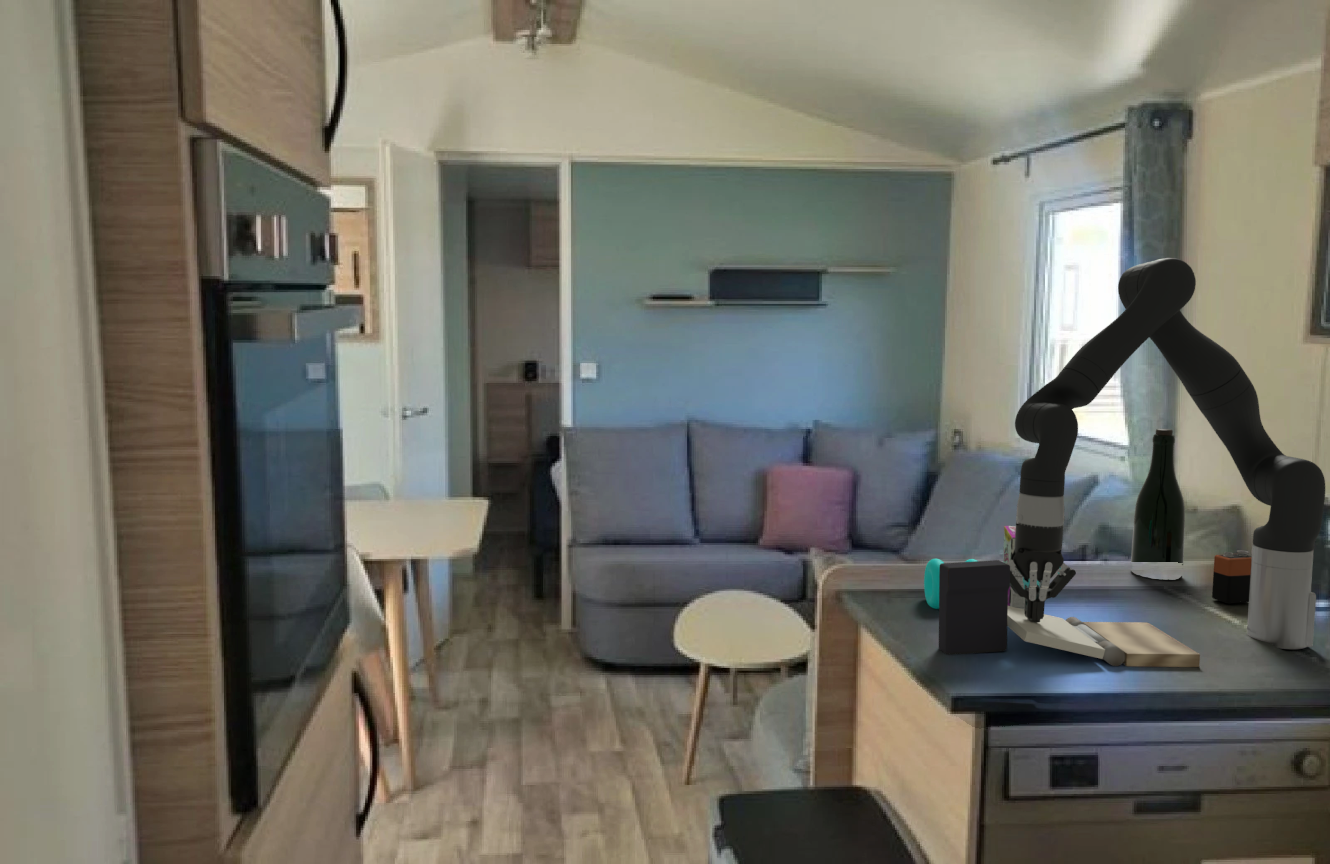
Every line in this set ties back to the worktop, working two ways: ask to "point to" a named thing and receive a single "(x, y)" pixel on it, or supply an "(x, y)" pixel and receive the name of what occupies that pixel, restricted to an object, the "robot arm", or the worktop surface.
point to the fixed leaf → (1140, 645)
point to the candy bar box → (1008, 550)
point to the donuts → (933, 582)
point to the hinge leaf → (1056, 633)
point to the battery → (1232, 577)
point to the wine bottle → (1160, 508)
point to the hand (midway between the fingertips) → (1033, 620)
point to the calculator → (973, 607)
